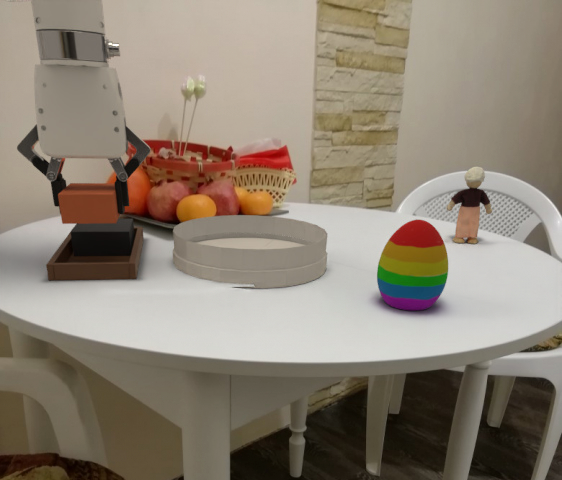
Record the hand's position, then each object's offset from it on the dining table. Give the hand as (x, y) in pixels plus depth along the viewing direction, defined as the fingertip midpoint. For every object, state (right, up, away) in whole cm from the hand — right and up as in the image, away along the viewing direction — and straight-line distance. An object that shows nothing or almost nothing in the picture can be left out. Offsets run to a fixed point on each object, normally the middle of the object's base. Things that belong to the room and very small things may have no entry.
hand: (93, 211), depth 71 cm
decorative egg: (+40, -13, -4) cm, 42 cm away
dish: (+20, -5, +9) cm, 22 cm away
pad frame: (-1, -5, +8) cm, 9 cm away
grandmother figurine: (+57, +2, +27) cm, 63 cm away
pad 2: (-2, -2, +12) cm, 12 cm away
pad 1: (0, -1, 0) cm, 1 cm away
